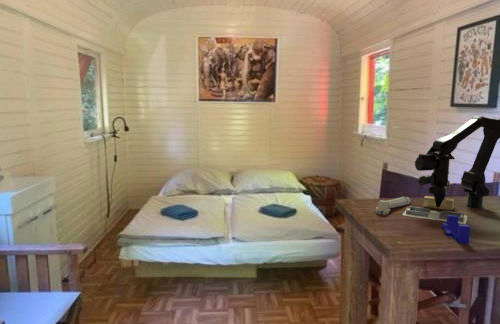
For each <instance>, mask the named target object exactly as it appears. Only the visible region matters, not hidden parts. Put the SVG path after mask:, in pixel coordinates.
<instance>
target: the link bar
mask: <svg viewBox="0 0 500 324" xmlns="http://www.w3.org/2000/svg"><path fill="white" fill-rule="evenodd" d="M454 202H455V200H454V199H453V198H447V197H446V198H445V197H444V199H443V201H442V203H441V205H440V207H436V202H435V197H434V196H429V195H425V196H424V197H423V204H422V206H423V207H422V208H430V209H431V208H432V209H439V210H445V211H453V210H454Z"/></svg>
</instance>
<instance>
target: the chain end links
mask: <svg viewBox="0 0 500 324" xmlns="http://www.w3.org/2000/svg"><path fill="white" fill-rule="evenodd" d="M407 208H408V210H406V209H405V210H406V214H411V215H418V216H425V217H428V213H430V211H431V208H429V207H419V206H411V205H409V206H408V207H407ZM440 212H441V214H440V215H439V219H446V220H447V215H457V216H458V221H460V222H463V218H464V215H465V213H464V212H458V211H457V212H456V211H452V210H445V209H440Z"/></svg>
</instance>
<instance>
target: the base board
mask: <svg viewBox="0 0 500 324" xmlns="http://www.w3.org/2000/svg"><path fill="white" fill-rule="evenodd" d="M408 208H409V207H406V209H405V210H404V212H403V213H402V216H406V217H412V218H419V219H426V220H434V221H439V222H440V221H441V222H445V223H447V220H446V219H439V215H440V214H441V211H435V210H430V213H428V217H425V216H418V215H411V214H406V210H408ZM467 219H468V215H465V214H464V218H463V222H460V221H458V224H459V225H467Z"/></svg>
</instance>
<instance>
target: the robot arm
mask: <svg viewBox="0 0 500 324" xmlns="http://www.w3.org/2000/svg"><path fill="white" fill-rule="evenodd" d="M480 128H483V129H482V131H483V139H482V142H481V144H480V147H479V149H478V151H477V153H476V156H475V159H474V161H473V164H472V166H471V169H469V170H468V171H467V170H465V171H463V174H462V177H461V178H460V184H461V187H462V189H463V192H465V193H467V201H466V204H465V207H466V208H472V209H473V208H474V209H481V210H484V208H485V207H484V205H483V204H484V197H488V196H489V195H490V189H488V187H487V186H486V185H485V184H486V174H485V172H486V169H487V166H488V164H489V161H490V159H491V157H492V154H493V152H494V149H495V147H496V145H497V143H498V141H499V140H500V117H485V116H480V115H479V116H478V115H475V116H473V117H471V119H470V120H468V121H467V122H465V123H464V124H463V125H461V126H460V127H459V128H457V129H456V130H454V131H453V132H452V133H450V134H448V135H446V136H442V137H439V138H437V139H435V140H434V141H433V142H432V146H431V147H430V148H429V150H428V151H427V152H426V153H425V154H424V153H423V154H422V153H419V154H418V156H417V157H416V158H415V161H414V167H415V169H416V170H417V171H418V172H419V171H420V172H421V171H423V172H424V171H432V172H431V174H428V175H422V176H421V175H420V176H419V177H418V178H417V183H418V184H419V186H420V187H422V186H425V185H429V184H430V185H431V186H429V187H428V193H429V194H432V195H433V197H435V202H436V207H440V205H441V203H442V201H443V199H444V198H445V197H446V196H447V193H448V191H449V188H450V187H451V186H450V185H451V182H450V180H449V175H450V172H449V171H450V160H455V159H456V158H455V156H453V155H452V153H453V151H454V150H456V148H458V145H459V144H460V142H462V141H463V140H465V139H466V138H467V137H469V136H470V135H472V134H473V133H475V132H476V131H477V130H478V129H480ZM447 187H448V188H447Z"/></svg>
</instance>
